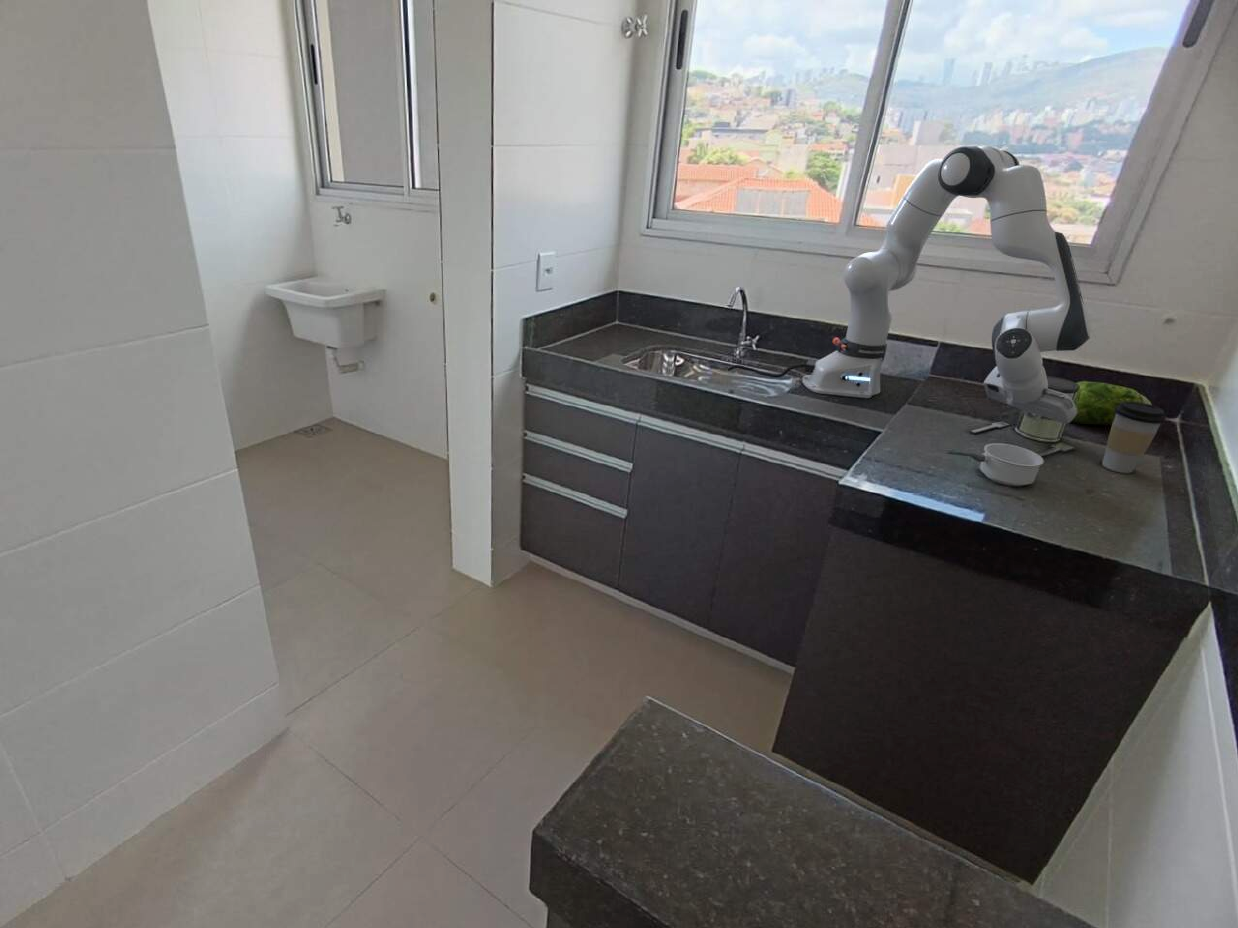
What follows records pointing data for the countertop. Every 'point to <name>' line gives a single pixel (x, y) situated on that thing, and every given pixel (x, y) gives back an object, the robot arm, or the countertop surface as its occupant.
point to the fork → (990, 427)
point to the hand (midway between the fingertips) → (1034, 416)
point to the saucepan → (1006, 463)
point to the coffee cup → (1131, 434)
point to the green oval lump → (1102, 402)
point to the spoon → (1056, 449)
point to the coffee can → (1045, 426)
